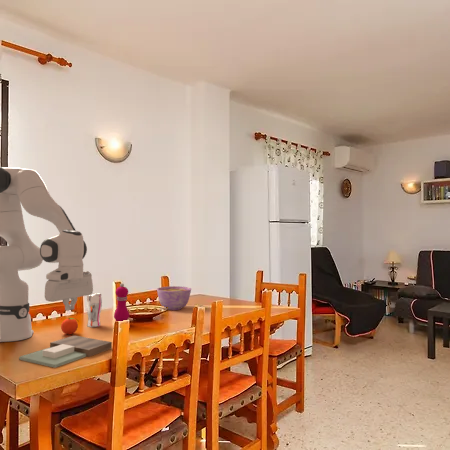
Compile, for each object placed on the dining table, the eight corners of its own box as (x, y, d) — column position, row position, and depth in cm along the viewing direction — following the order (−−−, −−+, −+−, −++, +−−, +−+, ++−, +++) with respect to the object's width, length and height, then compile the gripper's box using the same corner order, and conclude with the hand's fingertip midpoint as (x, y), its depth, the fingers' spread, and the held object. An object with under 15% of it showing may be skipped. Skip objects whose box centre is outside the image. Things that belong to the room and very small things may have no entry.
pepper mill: (113, 327, 196) (114, 284, 196) (113, 323, 203) (114, 282, 203) (129, 326, 198) (130, 284, 198) (128, 322, 205) (129, 282, 205)
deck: (50, 349, 160) (50, 342, 160) (74, 341, 171) (74, 335, 171) (88, 356, 151) (88, 349, 151) (111, 348, 162) (111, 342, 162)
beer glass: (103, 324, 202) (103, 293, 202) (99, 327, 195) (99, 295, 195) (88, 324, 202) (89, 293, 202) (84, 327, 195) (84, 295, 195)
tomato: (74, 331, 188) (74, 315, 188) (83, 333, 184) (83, 317, 184) (57, 334, 182) (58, 318, 182) (66, 337, 178) (66, 320, 178)
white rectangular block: (42, 355, 149) (42, 350, 149) (62, 349, 157) (62, 344, 157) (54, 358, 146) (54, 352, 146) (74, 351, 154) (74, 346, 154)
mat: (19, 359, 147) (19, 356, 147) (51, 349, 160) (51, 346, 160) (54, 367, 139) (54, 364, 139) (86, 356, 152) (86, 353, 152)
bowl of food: (152, 306, 247) (152, 287, 247) (184, 304, 255) (184, 285, 256) (162, 313, 229) (162, 292, 229) (196, 310, 237) (196, 290, 237)
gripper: (85, 270, 167) (84, 304, 167) (42, 275, 149) (41, 313, 149) (97, 271, 164) (96, 306, 164) (54, 276, 146) (53, 315, 146)
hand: (69, 309), depth 156 cm, fingers closed
